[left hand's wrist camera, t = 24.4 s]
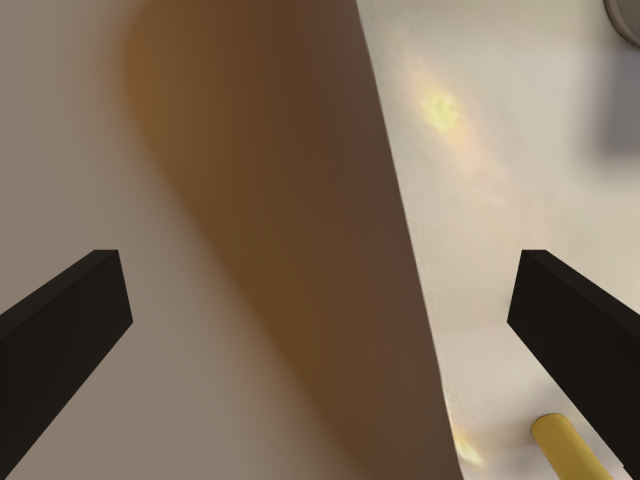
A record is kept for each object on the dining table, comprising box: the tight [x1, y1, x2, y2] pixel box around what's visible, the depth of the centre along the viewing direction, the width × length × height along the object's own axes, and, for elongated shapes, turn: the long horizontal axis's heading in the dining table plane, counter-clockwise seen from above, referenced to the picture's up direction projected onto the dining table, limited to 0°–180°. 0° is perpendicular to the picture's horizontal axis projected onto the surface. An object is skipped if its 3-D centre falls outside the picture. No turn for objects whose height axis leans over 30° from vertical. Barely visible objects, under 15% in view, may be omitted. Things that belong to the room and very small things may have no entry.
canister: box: [531, 414, 614, 480], centre depth 50 cm, size 6×6×11 cm
